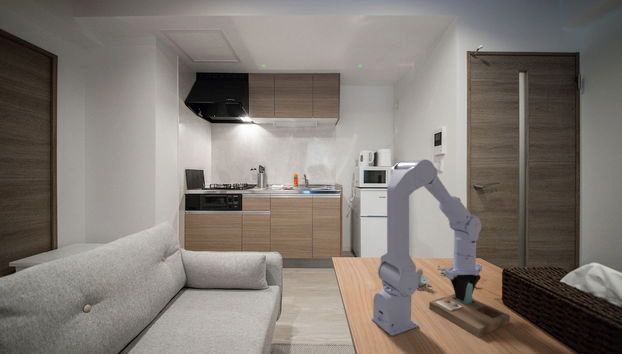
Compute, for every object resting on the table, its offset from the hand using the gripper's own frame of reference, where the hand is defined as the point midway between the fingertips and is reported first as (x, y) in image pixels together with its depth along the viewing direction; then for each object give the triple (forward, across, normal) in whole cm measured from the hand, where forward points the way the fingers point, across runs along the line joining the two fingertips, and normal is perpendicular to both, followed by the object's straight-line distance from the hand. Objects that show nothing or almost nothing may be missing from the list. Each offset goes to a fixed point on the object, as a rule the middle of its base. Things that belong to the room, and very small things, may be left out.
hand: (463, 298), depth 74 cm
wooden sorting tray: (+3, -4, -4) cm, 6 cm away
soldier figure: (+3, +17, +14) cm, 22 cm away
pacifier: (+3, -1, +17) cm, 17 cm away
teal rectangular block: (+1, 0, 0) cm, 1 cm away
